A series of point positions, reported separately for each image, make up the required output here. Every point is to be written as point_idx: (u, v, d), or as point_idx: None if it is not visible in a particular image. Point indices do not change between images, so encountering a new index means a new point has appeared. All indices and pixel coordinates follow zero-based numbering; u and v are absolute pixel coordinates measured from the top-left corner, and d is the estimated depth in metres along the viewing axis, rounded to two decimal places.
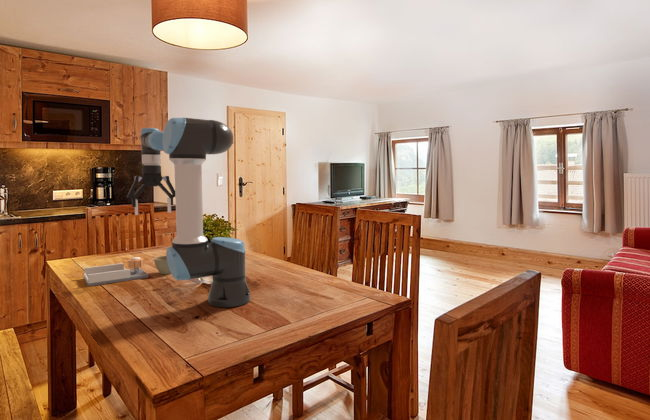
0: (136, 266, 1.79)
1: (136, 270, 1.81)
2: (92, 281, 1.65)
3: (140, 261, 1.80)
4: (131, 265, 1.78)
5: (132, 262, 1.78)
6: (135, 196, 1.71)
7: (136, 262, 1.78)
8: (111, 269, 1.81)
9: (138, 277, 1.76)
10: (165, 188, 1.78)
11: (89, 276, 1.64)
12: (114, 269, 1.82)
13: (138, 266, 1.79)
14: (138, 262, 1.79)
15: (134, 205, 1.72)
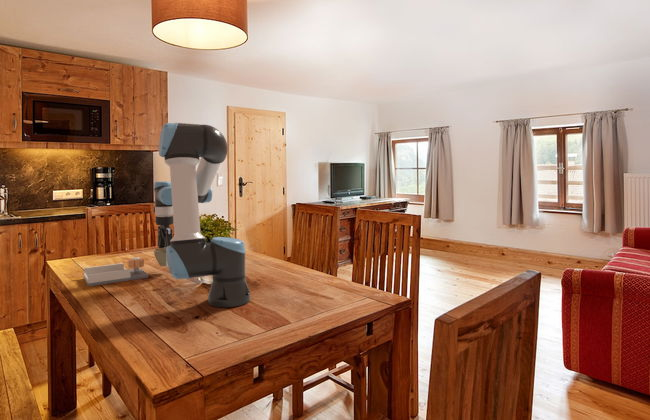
0: (136, 266, 1.79)
1: (136, 270, 1.81)
2: (92, 281, 1.65)
3: (140, 261, 1.80)
4: (131, 265, 1.78)
5: (132, 262, 1.78)
6: (159, 245, 1.88)
7: (136, 262, 1.78)
8: (111, 269, 1.81)
9: (138, 277, 1.76)
10: (165, 241, 1.79)
11: (89, 276, 1.64)
12: (114, 269, 1.82)
13: (138, 266, 1.79)
14: (138, 262, 1.79)
15: None
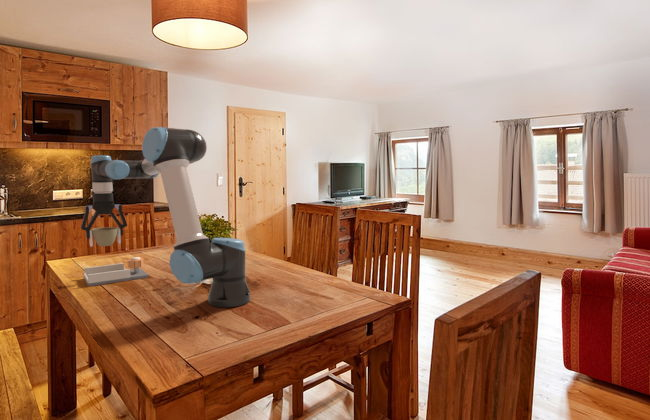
0: (136, 266, 1.79)
1: (136, 270, 1.81)
2: (92, 281, 1.65)
3: (140, 261, 1.80)
4: (131, 265, 1.78)
5: (132, 262, 1.78)
6: (89, 227, 1.68)
7: (136, 262, 1.78)
8: (111, 269, 1.81)
9: (138, 277, 1.76)
10: None
11: (89, 276, 1.64)
12: (114, 269, 1.82)
13: (138, 266, 1.79)
14: (138, 262, 1.79)
15: (88, 236, 1.68)
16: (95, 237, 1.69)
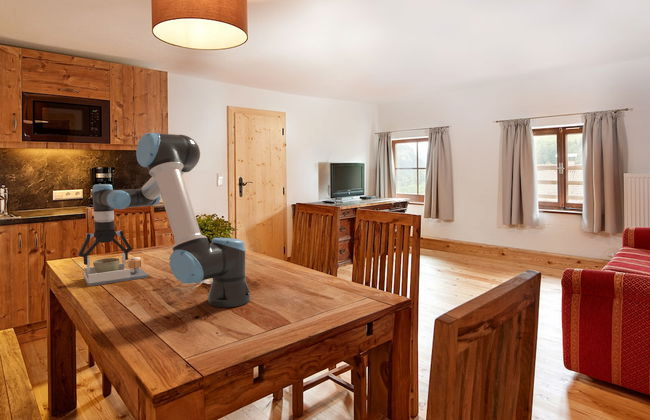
0: (136, 266, 1.79)
1: (136, 270, 1.81)
2: (92, 281, 1.65)
3: (140, 261, 1.80)
4: (131, 265, 1.78)
5: (132, 262, 1.78)
6: (86, 254, 1.68)
7: (136, 262, 1.78)
8: None
9: (138, 277, 1.76)
10: (119, 243, 1.75)
11: (89, 276, 1.64)
12: None
13: (138, 266, 1.79)
14: (138, 262, 1.79)
15: (86, 263, 1.69)
16: (97, 269, 1.70)
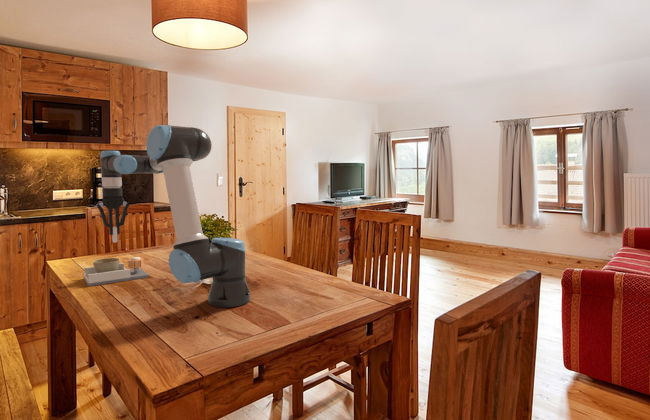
0: (136, 266, 1.79)
1: (136, 270, 1.81)
2: (92, 281, 1.65)
3: (140, 261, 1.80)
4: (131, 265, 1.78)
5: (132, 262, 1.78)
6: (111, 224, 1.72)
7: (136, 262, 1.78)
8: None
9: (138, 277, 1.76)
10: (118, 215, 1.74)
11: (89, 276, 1.64)
12: None
13: (138, 266, 1.79)
14: (138, 262, 1.79)
15: (111, 233, 1.73)
16: (97, 269, 1.70)
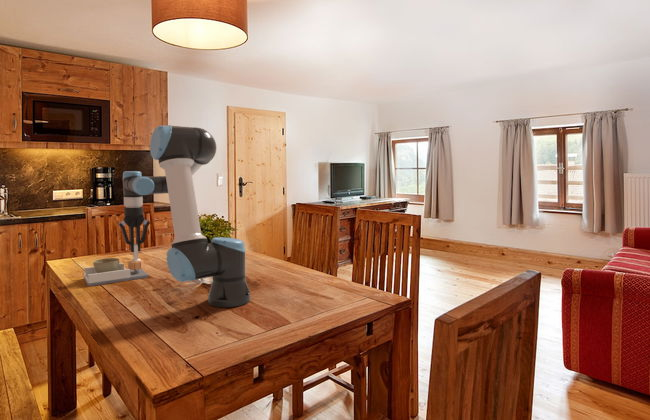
0: (136, 268, 1.79)
1: (136, 270, 1.81)
2: (92, 281, 1.65)
3: (140, 263, 1.80)
4: (131, 267, 1.78)
5: (132, 264, 1.78)
6: (132, 241, 1.78)
7: (136, 264, 1.78)
8: None
9: (138, 277, 1.76)
10: (139, 233, 1.80)
11: (89, 276, 1.64)
12: None
13: (138, 268, 1.79)
14: (138, 264, 1.79)
15: (132, 250, 1.79)
16: (97, 269, 1.70)
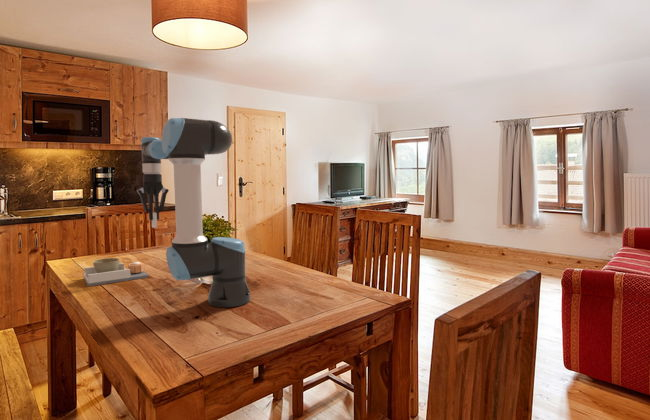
0: (136, 271, 1.79)
1: None
2: (92, 281, 1.65)
3: (140, 266, 1.80)
4: (131, 270, 1.78)
5: (132, 267, 1.78)
6: (151, 209, 1.76)
7: (136, 267, 1.79)
8: None
9: (138, 277, 1.76)
10: (158, 200, 1.77)
11: (89, 276, 1.64)
12: None
13: (138, 271, 1.79)
14: (138, 267, 1.79)
15: (151, 218, 1.76)
16: (97, 269, 1.70)
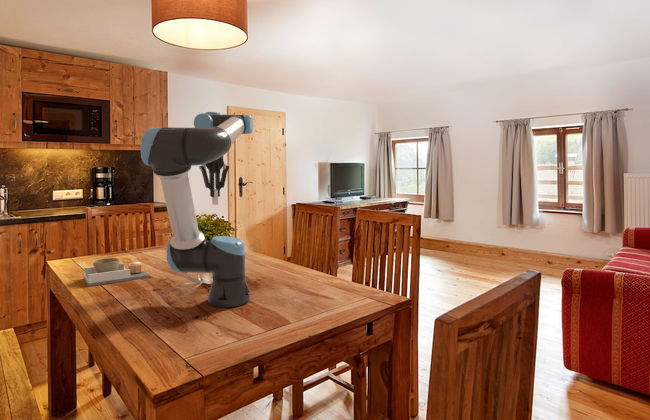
0: (136, 271, 1.79)
1: None
2: (92, 281, 1.65)
3: (140, 266, 1.80)
4: (131, 270, 1.78)
5: (132, 267, 1.78)
6: (212, 186, 1.73)
7: (136, 267, 1.79)
8: None
9: (138, 277, 1.76)
10: (219, 177, 1.74)
11: (89, 276, 1.64)
12: None
13: (138, 271, 1.79)
14: (138, 267, 1.79)
15: (213, 195, 1.74)
16: (97, 269, 1.70)
